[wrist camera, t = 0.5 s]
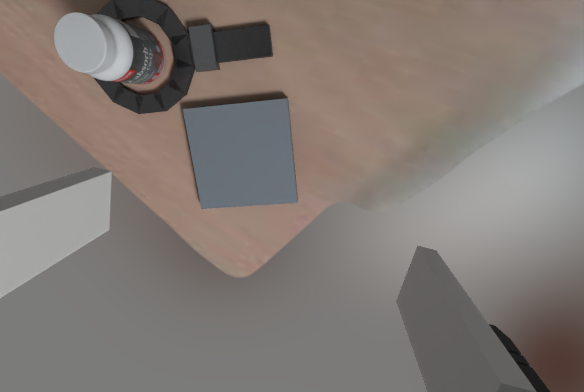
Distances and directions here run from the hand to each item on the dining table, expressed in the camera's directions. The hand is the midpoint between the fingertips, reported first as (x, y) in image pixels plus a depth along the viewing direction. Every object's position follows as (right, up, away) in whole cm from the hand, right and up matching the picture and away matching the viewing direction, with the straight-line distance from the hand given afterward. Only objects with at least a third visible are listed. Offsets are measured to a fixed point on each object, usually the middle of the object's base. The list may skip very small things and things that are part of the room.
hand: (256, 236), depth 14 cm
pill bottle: (-15, +17, +23) cm, 33 cm away
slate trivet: (-4, +7, +25) cm, 26 cm away
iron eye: (-11, +18, +22) cm, 30 cm away
